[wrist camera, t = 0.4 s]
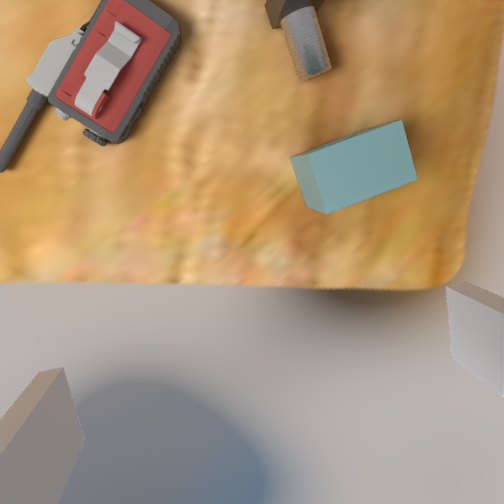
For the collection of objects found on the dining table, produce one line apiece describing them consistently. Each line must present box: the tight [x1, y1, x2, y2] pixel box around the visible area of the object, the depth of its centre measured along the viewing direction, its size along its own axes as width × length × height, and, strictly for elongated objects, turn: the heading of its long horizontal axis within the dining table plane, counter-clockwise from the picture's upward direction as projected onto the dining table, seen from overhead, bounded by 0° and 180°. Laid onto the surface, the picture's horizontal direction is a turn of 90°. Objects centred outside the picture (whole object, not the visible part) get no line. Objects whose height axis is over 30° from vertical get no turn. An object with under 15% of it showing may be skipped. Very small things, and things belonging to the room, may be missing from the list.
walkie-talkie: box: [0, 0, 181, 173], centre depth 35 cm, size 9×4×20 cm
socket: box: [290, 119, 418, 214], centre depth 37 cm, size 5×8×7 cm, turn 110°
